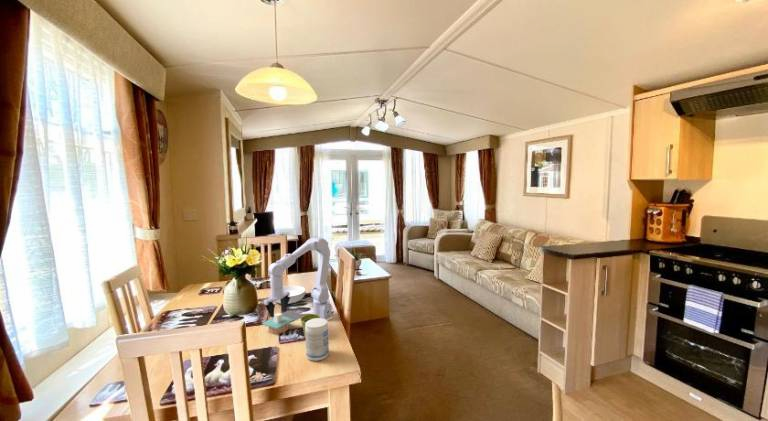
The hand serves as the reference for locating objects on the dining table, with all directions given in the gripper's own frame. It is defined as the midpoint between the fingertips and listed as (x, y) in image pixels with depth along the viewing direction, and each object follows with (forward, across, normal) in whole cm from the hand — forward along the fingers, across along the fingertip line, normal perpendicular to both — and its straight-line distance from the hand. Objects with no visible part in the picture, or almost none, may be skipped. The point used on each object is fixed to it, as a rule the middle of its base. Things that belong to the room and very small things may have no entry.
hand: (278, 313), depth 160 cm
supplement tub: (+9, +8, +33) cm, 35 cm away
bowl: (+8, 0, 0) cm, 8 cm away
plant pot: (+9, -4, +18) cm, 20 cm away
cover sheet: (+4, 0, 0) cm, 4 cm away
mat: (+8, -13, -7) cm, 17 cm away
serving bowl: (+9, -30, -25) cm, 40 cm away
